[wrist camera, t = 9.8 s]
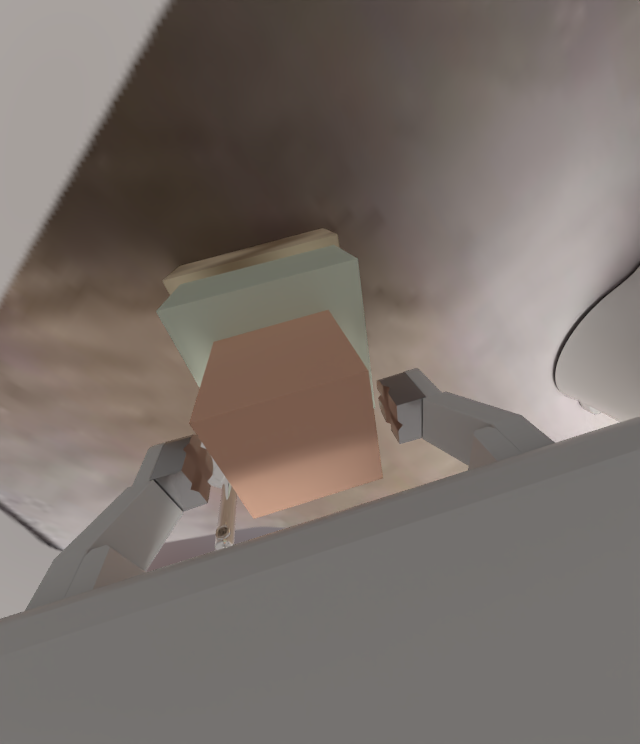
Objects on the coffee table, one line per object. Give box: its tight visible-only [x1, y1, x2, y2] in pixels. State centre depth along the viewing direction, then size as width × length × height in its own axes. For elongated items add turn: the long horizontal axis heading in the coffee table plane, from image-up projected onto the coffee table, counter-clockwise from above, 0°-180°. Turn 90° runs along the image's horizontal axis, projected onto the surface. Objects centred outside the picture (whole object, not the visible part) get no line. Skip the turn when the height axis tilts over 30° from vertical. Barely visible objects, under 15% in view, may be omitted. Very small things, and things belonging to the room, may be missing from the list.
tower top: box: [156, 245, 375, 408], centre depth 14 cm, size 8×8×4 cm
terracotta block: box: [189, 310, 383, 519], centre depth 11 cm, size 5×5×5 cm
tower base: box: [163, 228, 340, 295], centre depth 18 cm, size 9×9×4 cm
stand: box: [201, 442, 237, 550], centre depth 22 cm, size 8×5×8 cm
